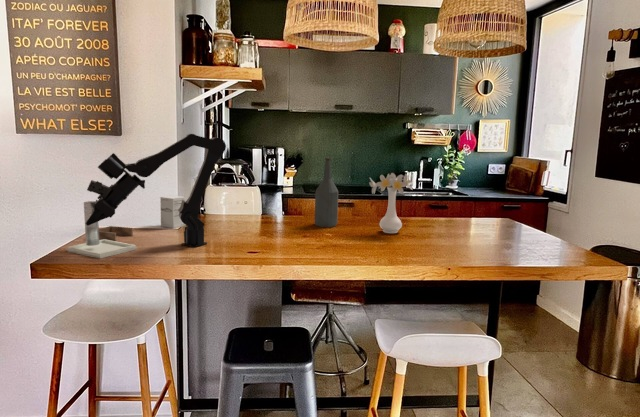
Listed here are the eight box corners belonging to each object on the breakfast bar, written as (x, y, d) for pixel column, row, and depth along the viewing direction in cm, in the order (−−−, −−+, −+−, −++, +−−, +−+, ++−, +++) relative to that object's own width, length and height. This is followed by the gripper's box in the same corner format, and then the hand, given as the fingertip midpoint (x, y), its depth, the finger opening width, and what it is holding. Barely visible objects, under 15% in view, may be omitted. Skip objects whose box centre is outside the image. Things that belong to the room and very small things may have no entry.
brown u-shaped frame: (133, 235, 179) (132, 227, 178) (115, 241, 169) (114, 233, 168) (110, 233, 181) (110, 226, 180) (91, 239, 171) (91, 231, 170)
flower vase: (363, 229, 202) (365, 171, 198) (402, 228, 207) (405, 171, 203) (375, 236, 190) (378, 174, 186) (416, 234, 195) (419, 174, 191)
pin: (101, 242, 157) (99, 201, 155) (97, 245, 153) (95, 203, 151) (88, 242, 156) (86, 201, 154) (84, 245, 152) (81, 203, 150)
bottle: (310, 223, 212) (312, 157, 207) (329, 222, 217) (331, 157, 212) (321, 228, 203) (323, 158, 198) (341, 226, 208) (343, 158, 203)
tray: (136, 249, 158) (136, 245, 158) (99, 258, 146) (99, 253, 146) (104, 243, 165) (104, 239, 165) (67, 251, 153) (66, 247, 153)
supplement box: (160, 226, 197) (159, 196, 195) (173, 223, 203) (172, 194, 201) (173, 228, 193) (172, 198, 191) (186, 225, 200) (185, 196, 198)
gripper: (103, 169, 161) (69, 202, 158) (101, 174, 144) (62, 211, 141) (129, 191, 165) (96, 224, 163) (130, 199, 148) (93, 235, 146)
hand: (87, 223), depth 153 cm, fingers closed on pin, 4 cm apart
